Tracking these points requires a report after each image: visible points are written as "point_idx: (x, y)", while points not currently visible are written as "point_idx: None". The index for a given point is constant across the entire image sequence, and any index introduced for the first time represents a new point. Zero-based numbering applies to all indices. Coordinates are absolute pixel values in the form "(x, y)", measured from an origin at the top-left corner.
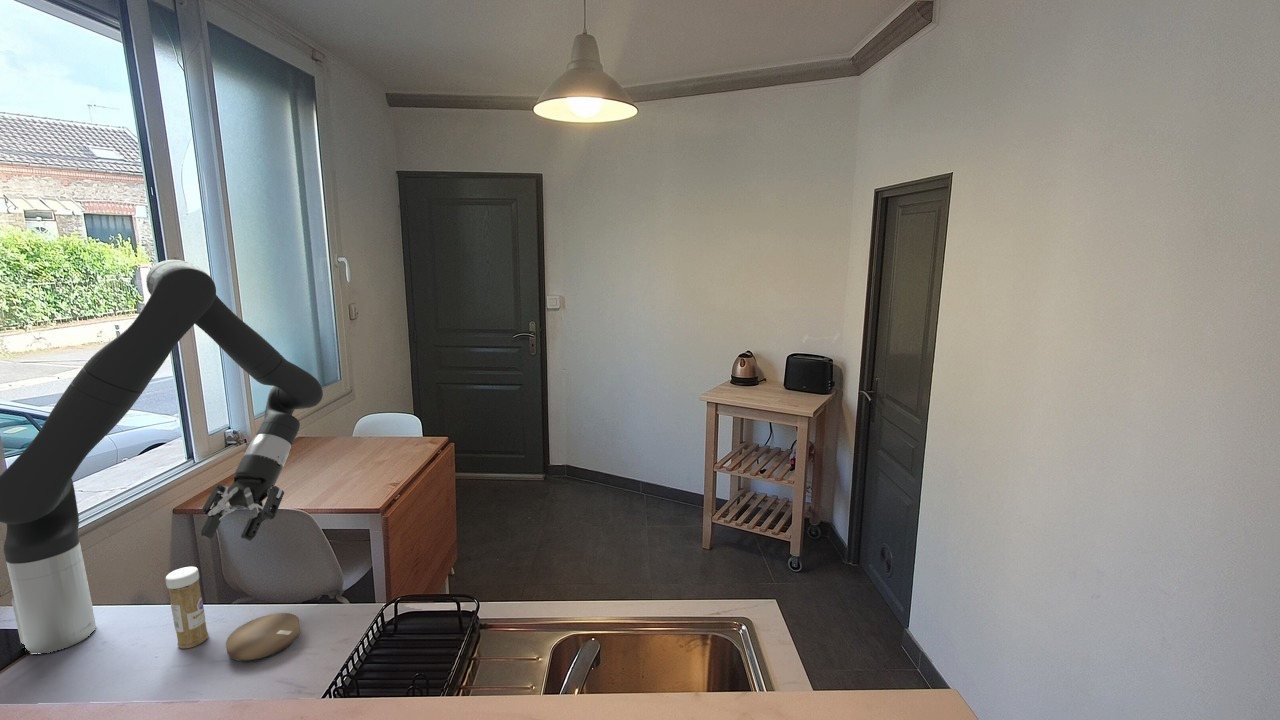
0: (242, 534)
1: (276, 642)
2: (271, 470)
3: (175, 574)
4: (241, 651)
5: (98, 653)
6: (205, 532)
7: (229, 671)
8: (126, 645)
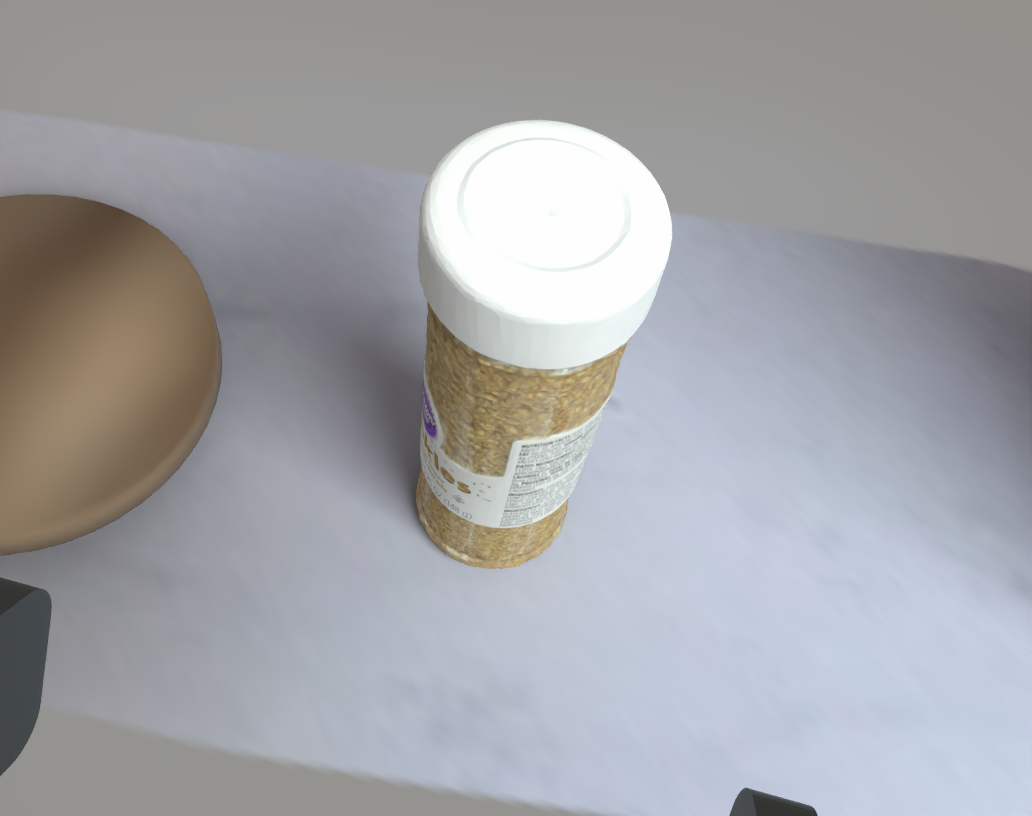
0: (9, 592)
1: None
2: None
3: (584, 182)
4: (84, 204)
5: (956, 485)
6: (751, 811)
7: (164, 231)
8: (864, 532)
